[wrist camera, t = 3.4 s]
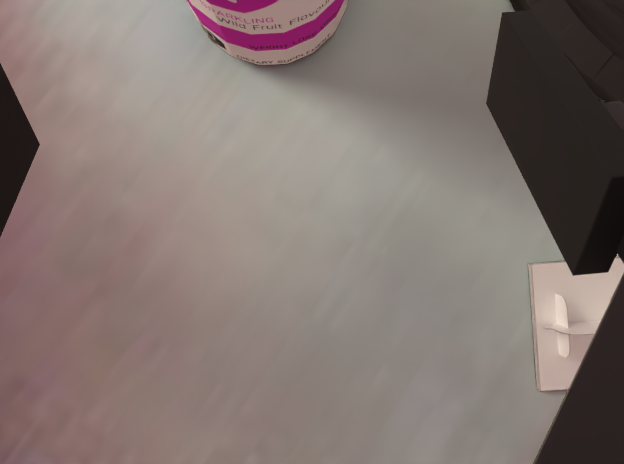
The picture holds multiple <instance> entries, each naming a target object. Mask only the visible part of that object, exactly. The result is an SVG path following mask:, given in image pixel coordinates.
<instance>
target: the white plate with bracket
mask: <svg viewBox="0 0 624 464" xmlns="http://www.w3.org/2000/svg"><path fill="white" fill-rule="evenodd" d="M528 268H529V282H530V296H531V311H532V325H533V339H534V354H535V368H536V382H537V390H539V391H540V392H541V391H554V390H568V389H569V387H570V385H571V383H572V381H573V378H574V376H575V374H576V372H577V370H578V368H579V366H580V364H581V362H582V359H583V357H584V355H585V353H586V351H587V349H588V347H589V345H590V343H591V341H592V338H593V336H594V334H595V332H596V330H597V328H598V326H599V324H600V322H601V319H602V317H603V315H604V313H605V311H606V309H607V307H608V305H609V303H610V301H611V298H612V296H613V294H614V292H615V290H616V288H617V285H618V283H619V281H620V279H621V277H622V275H623V273H624V263H623V262H622V260H621V258H620V257H615V259H614V261H613V263H612V265H611V268H610V270H609V272H607V273H596V274H585V275H575V276H573V275H572V273H571V271H570V269H569V267H568V265H567V263H566V261H558V262H544V263H531V264H528Z"/></svg>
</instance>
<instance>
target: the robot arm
mask: <svg viewBox="0 0 624 464" xmlns="http://www.w3.org/2000/svg"><path fill="white" fill-rule="evenodd" d="M486 104H487V106H488V108H489V110H490V112H491V114H492V116H493V118H494V120H495V122H496V124H497V126H498V128H499V130H500V132H501V134H502V136H503V138H504V140H505V142H506V144H507V146H508V148H509V150H510V152H511V154H512V156H513V158H514V160H515V162H516V164H517V166H518V168H519V170H520V172H521V174H522V176H523V178H524V180H525V182H526V184H527V186H528V188H529V190H530V192H531V194H532V196H533V198H534V200H535V202H536V204H537V206H538V208H539V210H540V212H541V214H542V216H543V217H544V219H545V221H546V223H547V225H548V227H549V229H550V231H551V233H552V235H553V237H554V239H555V241H556V243H557V245H558V247H559V249H560V251H561V253H562V255H563V257H564V259H565V261H566V263H567V265H568V267H569V269H570V271H571V273H572V275H573V276H575V275H585V274H596V273H607V272H609V270H610V268H611V265H612V263H613V261H614V259H615V257H616V255H617V253H618V255H619V257H620V258H621V260H622V262H623V263H624V104H623V103H622V102H620V101H614V102H604V103H601V102H600V100H599V99H598V98H597V96H596V95H595V94H594V92H593V91H592V90H591V88H590V87H589V86H588V84H587V83H586V82H585V80H584V79H583V78H582V76H581V75H580V74H579V72H578V71H577V70H576V68H575V67H574V66H573V64H572V63H571V62H570V60H569V59H568V58H567V56H566V55H565V54H564V52H563V51H562V50H561V49H560V47H559V46H558V45H557V43H556V42H555V41H554V39H553V38H552V37H551V35H550V34H549V33H548V31H547V30H546V29H545V27H544V26H543V25H542V23H541V22H540V21H539V19H538V18H537V17H536V15H535V14H534V13H533V11H532V10H528V11H516V12H505V13H502V17H501V23H500V29H499V34H498V40H497V46H496V51H495V57H494V62H493V68H492V74H491V79H490V85H489V91H488V96H487V102H486ZM39 145H40V144H39V142H38V140H37V138H36V136H35V134H34V131H33V129H32V127H31V125H30V123H29V121H28V119H27V117H26V115H25V113H24V111H23V109H22V107H21V105H20V103H19V101H18V99H17V96H16V94H15V92H14V90H13V88H12V86H11V84H10V82H9V80H8V78H7V76H6V74H5V72H4V70H3V68H2V66H1V64H0V236H1V234H2V232H3V229H4V227H5V225H6V222H7V220H8V218H9V215H10V213H11V211H12V208H13V206H14V203H15V201H16V199H17V196H18V194H19V192H20V189H21V187H22V185H23V182H24V180H25V178H26V175H27V173H28V171H29V168H30V166H31V164H32V161H33V159H34V157H35V154H36V152H37V150H38V147H39ZM533 464H624V273H623V275H622V277H621V279H620V281H619V283H618V285H617V288H616V290H615V292H614V294H613V296H612V298H611V301H610V303H609V305H608V307H607V309H606V311H605V313H604V315H603V317H602V319H601V322H600V324H599V326H598V328H597V330H596V332H595V334H594V336H593V338H592V341H591V343H590V345H589V347H588V349H587V351H586V353H585V355H584V357H583V359H582V362H581V364H580V366H579V368H578V370H577V372H576V374H575V376H574V378H573V381H572V383H571V385H570V387H569V389H568V391H567V393H566V395H565V397H564V399H563V402H562V404H561V406H560V408H559V410H558V412H557V414H556V416H555V418H554V421H553V423H552V425H551V427H550V429H549V431H548V433H547V435H546V437H545V440H544V442H543V444H542V446H541V448H540V450H539V452H538V454H537V456H536V458H535V461H534V463H533Z"/></svg>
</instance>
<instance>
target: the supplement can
mask: <svg viewBox="0 0 624 464" xmlns="http://www.w3.org/2000/svg"><path fill="white" fill-rule="evenodd" d="M186 1H187V2H188V4H189V6H190V8H191V10H192V12H193V14H194V15H195V17H196V19H197V20H198V22H199V23H200V25H201V26H202V28H203V29H204V31H205V32H206V34H207V35H208V37H209V38H210V40H211V41H212V42H214V43H215V44H216V45H218V46H219V47H220V48H222V49H223V50H224V51H226V52H227V53H228V54H230V55H231V56H232V57H235V58H238V59H241V60H245V61H248V62H251V63H255V64H258V65H271V64H288V63H290V62H293V61H295V60H297V59H300V58H302V57H304V56H307V55H309V54H311V53H314V52H315V51H316V50H317V49H318V48H319V47H320V46H321V45H322V44H323V43H324V42H325V41H326V40H327V39H328V38H330V37H331V36H332V35H333V34H334V32H335V30H336V28H337V26H338V24H339V22H340V20H341V18H342V16H343V14H344V12H345V10H346V8H347V3H348V0H186Z"/></svg>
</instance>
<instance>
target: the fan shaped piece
mask: <svg viewBox="0 0 624 464" xmlns="http://www.w3.org/2000/svg"><path fill="white" fill-rule="evenodd" d="M510 2H511V3H512V5H513V7H514V9H515V10H516V11H528V10H532V11H533V13H534V14H535V15H536V17H537V18H538V19H539V21H540V22H541V23H542V25H543V26H544V27H545V29H546V30H547V31H548V33H549V34H550V35H551V37H552V38H553V39H554V41H555V42H556V43H557V45H558V46H559V47H560V49H561V50H562V51H563V52H564V54H565V55H566V56H567V58H568V59H569V60H570V62H571V63H572V64H573V66H574V67H575V68H576V70H577V71H578V72H579V74H580V75H581V76H582V78H583V79H584V80H585V82H586V83H587V84H588V86H589V87H590V88H591V90H592V91H593V92H594V94H596V95H597V96H598V97H600V98H602V99H603V100H605V101H606V102H614V101H620V102H622V103H623V104H624V0H510Z"/></svg>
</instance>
